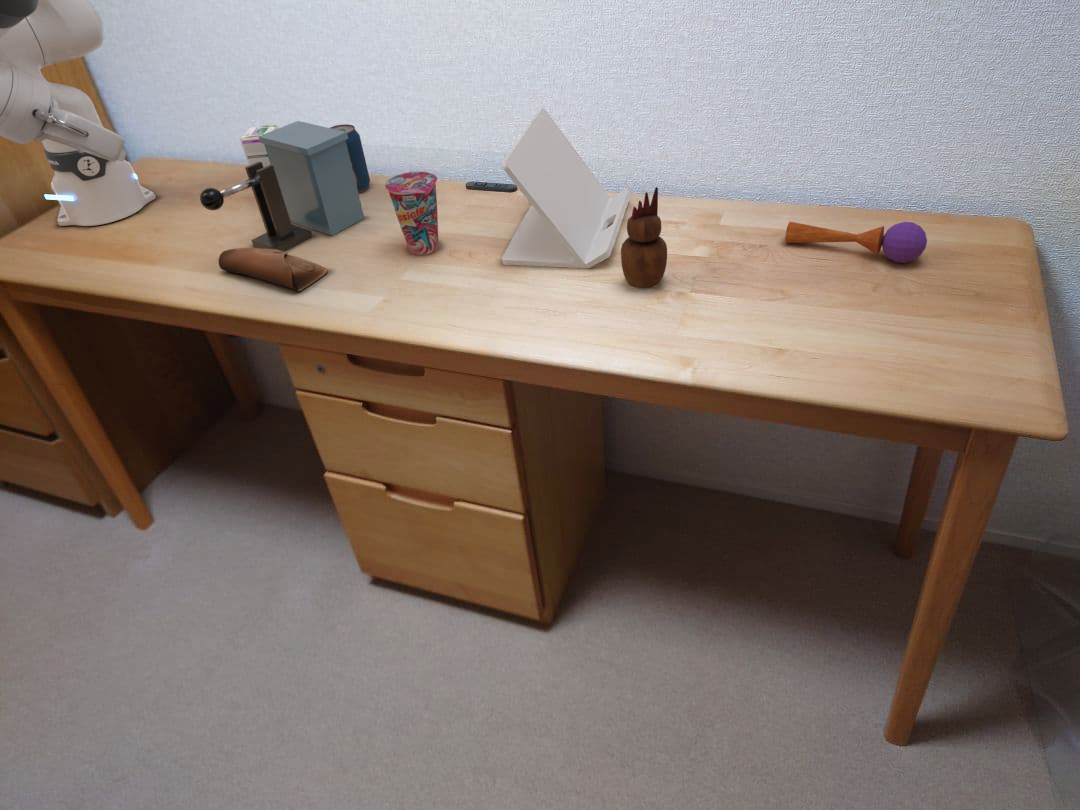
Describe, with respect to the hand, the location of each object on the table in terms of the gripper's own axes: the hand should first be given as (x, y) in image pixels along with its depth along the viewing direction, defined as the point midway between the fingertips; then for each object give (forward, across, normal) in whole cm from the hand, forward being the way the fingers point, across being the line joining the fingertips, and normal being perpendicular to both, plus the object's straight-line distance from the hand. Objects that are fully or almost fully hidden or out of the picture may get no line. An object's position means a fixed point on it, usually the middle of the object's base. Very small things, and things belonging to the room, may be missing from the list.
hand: (120, 155), depth 111 cm
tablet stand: (+51, -44, -18) cm, 70 cm away
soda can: (+47, +6, -14) cm, 50 cm away
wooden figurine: (+45, -64, -12) cm, 80 cm away
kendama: (+62, -87, -29) cm, 111 cm away
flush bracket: (+31, 0, +2) cm, 31 cm away
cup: (+39, -26, -6) cm, 47 cm away
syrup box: (+39, +14, -6) cm, 42 cm away
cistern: (+38, 0, -5) cm, 39 cm away
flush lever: (+20, 0, -2) cm, 20 cm away
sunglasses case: (+26, -9, +8) cm, 28 cm away
